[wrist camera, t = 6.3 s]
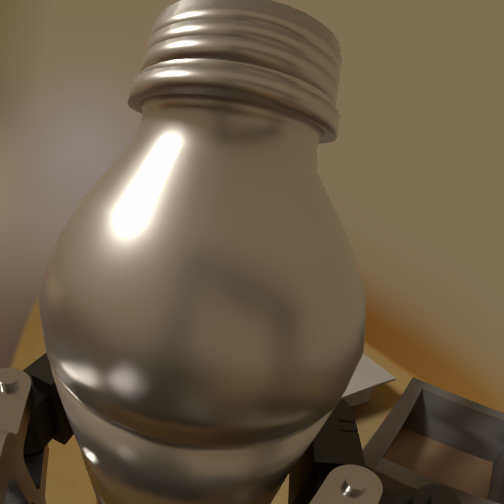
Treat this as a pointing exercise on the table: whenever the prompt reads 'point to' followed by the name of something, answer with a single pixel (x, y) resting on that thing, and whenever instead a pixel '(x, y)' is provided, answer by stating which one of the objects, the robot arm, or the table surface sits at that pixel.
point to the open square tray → (440, 445)
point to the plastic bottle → (209, 267)
